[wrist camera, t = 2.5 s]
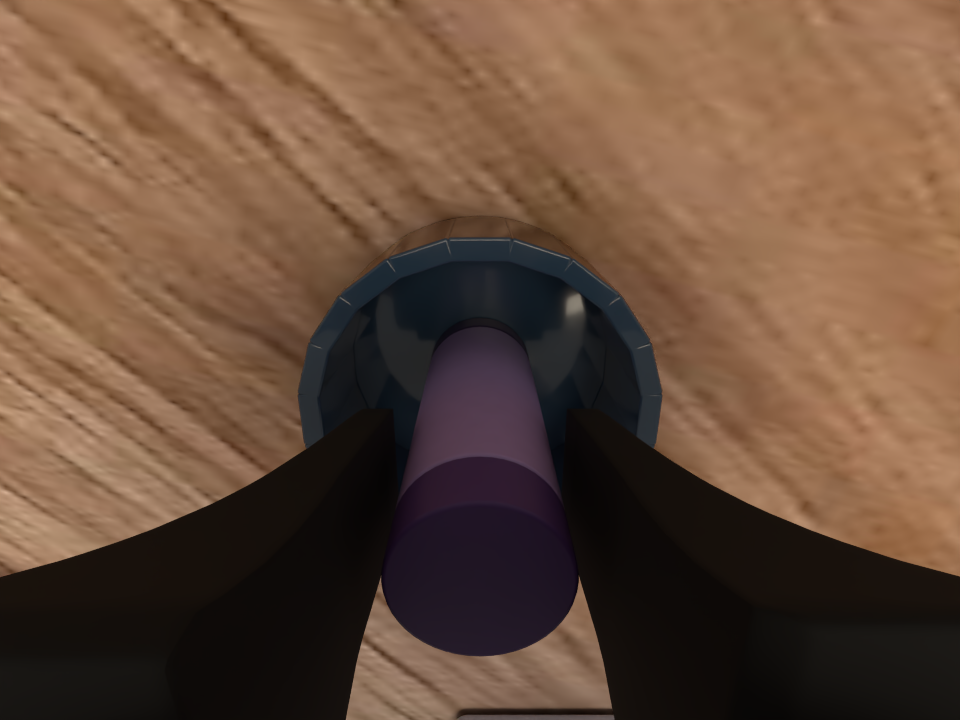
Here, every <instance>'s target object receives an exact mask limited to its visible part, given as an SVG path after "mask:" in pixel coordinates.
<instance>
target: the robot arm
mask: <svg viewBox="0 0 960 720" xmlns="http://www.w3.org/2000/svg"><path fill="white" fill-rule="evenodd" d="M561 495H562V500H563V505H564V509H565V513H566V517H567V522H568V526H569V530H570V534H571V538H572V543H573V547H574V551H575V555H576V559H577V564H578V570H579V577H580V581H581V584H582V587H583V591H584V594H585V597H586V601H587V604H588V607H589V611H590V614H591V618H592V621H593V624H594V628H595V631H596V634H597V638H598V642H599V646H600V650H601V654H602V658H603V662H604V667H605V672H606V677H607V683H608V688H609V693H610V699H611V704H612V709H613V714H614V715H463V716H461V717H459V718H458V719H457V720H960V577H959V576H956V575H952V574H948V573H944V572H941V571H937V570H933V569H929V568H926V567H922V566H918V565H914V564H911V563H907V562H903V561H900V560H897V559H893V558H890V557H887V556H884V555H881V554H878V553H875V552H872V551H869V550H866V549H863V548H859V547H856V546H853V545H850V544H847V543H844V542H841V541H839V540H836V539H833V538H830V537H828V536H825V535H822V534H819V533H817V532H814V531H811V530H809V529H806V528H804V527H801V526H799V525H797V524H794V523H792V522H789V521H787V520H784V519H782V518H780V517H777V516H775V515H772V514H770V513H768V512H765V511H763V510H761V509H759V508H757V507H754V506H752V505H750V504H748V503H746V502H744V501H742V500H740V499H738V498H736V497H734V496H732V495H730V494H728V493H726V492H724V491H722V490H720V489H718V488H716V487H715V486H713V485H711V484H709V483H707V482H706V481H704V480H702V479H700V478H699V477H697V476H695V475H694V474H692V473H690V472H689V471H687V470H686V469H684V468H682V467H681V466H679V465H677V464H676V463H674V462H673V461H671V460H670V459H668V458H667V457H665V456H664V455H662V454H661V453H659V452H658V451H656V450H655V449H653V448H652V447H650V446H649V445H648V444H646V443H645V442H643V441H642V440H641V439H639V438H638V437H637V436H635V435H634V434H632V433H631V432H630V431H628V430H627V429H626V428H624V427H623V426H622V425H620V424H619V423H618V422H616V421H615V420H614V419H612V418H611V417H609V416H608V415H607V414H605V413H604V412H602V411H600V410H599V409H567V416H566V431H565V446H564V462H563V477H562V492H561ZM398 496H399V492H398V476H397V461H396V446H395V430H394V415H393V409H362V410H360V411H358V412H357V413H355V414H354V415H352V416H351V417H350V418H348V419H347V420H345V421H344V422H343V423H341V424H340V425H339V426H337V427H336V428H335V429H333V430H332V431H331V432H329V433H328V434H327V435H325V436H324V437H322V438H321V439H320V440H318V441H317V442H316V443H314V444H313V445H311V446H310V447H309V448H307V449H306V450H304V451H303V452H301V453H300V454H298V455H297V456H295V457H293V458H292V459H290V460H289V461H287V462H286V463H284V464H283V465H281V466H280V467H278V468H276V469H275V470H273V471H272V472H270V473H269V474H267V475H265V476H264V477H262V478H260V479H259V480H257V481H255V482H253V483H251V484H250V485H248V486H246V487H244V488H242V489H240V490H238V491H236V492H234V493H233V494H231V495H229V496H227V497H225V498H223V499H221V500H219V501H217V502H215V503H213V504H211V505H208V506H206V507H204V508H201V509H199V510H197V511H194V512H192V513H190V514H187V515H185V516H183V517H180V518H178V519H176V520H173V521H171V522H169V523H166V524H164V525H162V526H160V527H157V528H155V529H152V530H149V531H147V532H144V533H141V534H139V535H136V536H133V537H130V538H128V539H125V540H122V541H119V542H117V543H114V544H111V545H108V546H105V547H102V548H99V549H96V550H93V551H90V552H87V553H84V554H80V555H77V556H74V557H71V558H67V559H64V560H61V561H58V562H54V563H50V564H47V565H43V566H39V567H36V568H32V569H28V570H25V571H21V572H18V573H14V574H10V575H7V576H3V577H0V720H346V715H347V709H348V704H349V699H350V694H351V688H352V683H353V678H354V673H355V667H356V662H357V658H358V654H359V650H360V646H361V642H362V638H363V635H364V631H365V628H366V625H367V621H368V618H369V614H370V611H371V608H372V604H373V601H374V598H375V594H376V591H377V587H378V584H379V581H380V577H381V570H382V564H383V559H384V555H385V551H386V547H387V543H388V538H389V534H390V530H391V526H392V521H393V517H394V513H395V509H396V505H397V500H398Z"/></svg>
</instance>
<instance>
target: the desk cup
mask: <svg viewBox="0 0 960 720" xmlns="http://www.w3.org/2000/svg"><path fill="white" fill-rule="evenodd" d="M473 318H487V319H493V320H496V321H499V322H501V323H503V324H505V325H507V326H508V327H510V328H511V329H512V330H514V331H515V332H516V333H517V334H518V336H519V337H520V338H521V340H522V341H523V343H524V345H525V347H526V350H527V353H528V357H529V362H530V366H531V370H532V374H533V378H534V383H535V387H536V391H537V395H538V399H539V404H540V408H541V412H542V416H543V421H544V425H545V429H546V433H547V437H548V442H549V446H550V450H551V454H552V458H553V463H554V467H555V471H556V475H557V479H558V484H559V488H560V492H562V477H563V462H564V446H565V431H566V416H567V409H599V410H600V411H602V412H604V413H605V414H607V415H608V416H609V417H611V418H612V419H614V420H615V421H616V422H618V423H619V424H620V425H622V426H623V427H624V428H626V429H627V430H628V431H630V432H631V433H632V434H634V435H635V436H637V437H638V438H639V439H641V440H642V441H643V442H645V443H646V444H648V445H649V446H650V447H652V448H653V449H654V447H655V444H656V439H657V432H658V425H659V417H660V410H661V403H662V388H661V383H660V379H659V374H658V370H657V365H656V361H655V356H654V352H653V347H652V343H651V342H650V339H649V337H648V335H647V334H646V332H645V331H644V329H643V328H642V326H641V325H640V323H639V321H638V320H637V318H636V317H635V315H634V314H633V312H632V311H631V309H630V308H629V306H628V304H627V303H626V301H625V300H624V298H623V297H622V295H621V294H620V293H619V292H618V291H617V290H616V289H615V288H614V287H613V286H612V285H611V284H610V283H609V282H608V281H607V280H606V279H605V278H604V277H603V276H602V275H601V274H600V273H599V272H598V271H597V270H596V269H595V268H594V267H593V266H592V265H591V264H590V263H589V262H588V261H587V260H585V259H584V258H583V257H581V256H580V255H579V254H578V253H576V252H575V251H574V250H573V249H572V248H571V247H569V246H568V245H566V244H565V243H564V242H562V241H561V240H559V239H558V238H557V237H555V236H554V235H551V234H550V233H548V232H545V231H543V230H541V229H539V228H537V227H534V226H532V225H529V224H526V223H523V222H520V221H516V220H511V219H506V218H501V217H489V216H471V217H459V218H454V219H449V220H444V221H440V222H437V223H434V224H431V225H428V226H426V227H423V228H421V229H419V230H417V231H415V232H412V233H410V234H409V235H406V236H405V237H403V238H402V239H401V240H399V241H398V242H396V243H395V244H394V245H392V246H391V247H389V248H388V249H387V250H386V251H385V252H384V253H382V254H381V255H380V256H379V257H377V258H376V259H375V260H373V261H372V262H371V263H370V264H369V265H368V266H367V267H366V268H365V269H364V270H363V271H362V272H361V273H360V274H359V275H358V276H357V277H356V278H355V279H354V280H353V281H352V282H351V283H350V284H349V285H348V286H347V287H346V288H345V289H344V290H343V291H342V292H341V293H340V294H339V295H338V297H337V298H336V300H335V301H334V303H333V304H332V306H331V308H330V309H329V311H328V312H327V314H326V315H325V317H324V318H323V320H322V321H321V323H320V325H319V326H318V328H317V329H316V331H315V332H314V334H313V335H312V337H311V339H310V342H309V343H308V347H307V352H306V356H305V361H304V365H303V370H302V374H301V379H300V383H299V388H298V393H299V394H298V402H299V409H300V416H301V424H302V431H303V439H304V443H305V447H306V449H307V448H309V447H310V446H311V445H313V444H314V443H316V442H317V441H318V440H320V439H321V438H322V437H324V436H325V435H327V434H328V433H329V432H331V431H332V430H333V429H335V428H336V427H337V426H339V425H340V424H341V423H343V422H344V421H345V420H347V419H348V418H350V417H351V416H352V415H354V414H355V413H357V412H358V411H360V410H362V409H393V415H394V430H395V446H396V461H397V476H398V492H400V488H401V484H402V479H403V475H404V471H405V467H406V463H407V458H408V454H409V450H410V446H411V442H412V437H413V433H414V429H415V425H416V420H417V416H418V412H419V408H420V404H421V399H422V395H423V391H424V387H425V383H426V378H427V374H428V370H429V366H430V362H431V357H432V353H433V350H434V347H435V345H436V343H437V341H438V340H439V338H440V337H441V336H442V334H443V333H444V332H445V331H446V330H448V329H449V328H450V327H452V326H453V325H455V324H457V323H459V322H461V321H464V320H467V319H473ZM561 496H562V495H561Z"/></svg>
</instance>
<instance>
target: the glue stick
mask: <svg viewBox="0 0 960 720" xmlns="http://www.w3.org/2000/svg"><path fill="white" fill-rule="evenodd" d="M381 583H382V589H383V593H384V596H385V599H386V602H387V605H388V607H389V609H390V610H391V612H392V614H393V615H394V617H395V618H396V620H397V621H398V622H399V623H400V624H401V625H402V626H403V627H404V628H405V629H406V630H407V631H408V632H409V633H411V634H412V635H413V636H414V637H416V638H418V639H419V640H421V641H422V642H424V643H426V644H428V645H430V646H432V647H435V648H437V649H440V650H443V651H446V652H450V653H454V654H460V655H466V656H494V655H500V654H506V653H510V652H514V651H517V650H520V649H523V648H525V647H528V646H530V645H532V644H534V643H536V642H538V641H539V640H541V639H542V638H544V637H546V636H547V635H548V634H549V633H551V632H552V631H553V630H554V629H555V628H556V627H557V626H558V625H559V624H560V623H561V622H562V621H563V619H564V618H565V617H566V615H567V614H568V612H569V610H570V609H571V607H572V605H573V602H574V599H575V596H576V593H577V589H578V583H579V570H578V564H577V559H576V555H575V551H574V547H573V543H572V538H571V534H570V530H569V526H568V522H567V517H566V513H565V509H564V505H563V500H562V496H561V492H560V488H559V484H558V479H557V475H556V471H555V467H554V463H553V458H552V454H551V450H550V446H549V442H548V437H547V433H546V429H545V425H544V421H543V416H542V412H541V408H540V404H539V399H538V395H537V391H536V387H535V383H534V378H533V374H532V370H531V366H530V362H529V357H528V353H527V350H526V347H525V345H524V343H523V341H522V340H521V338H520V337H519V336H518V334H517V333H516V332H515V331H514V330H512V329H511V328H510V327H508V326H507V325H505V324H503V323H501V322H499V321H496V320H493V319H487V318H473V319H467V320H464V321H461V322H459V323H457V324H455V325H453V326H452V327H450V328H449V329H448V330H446V331H445V332H444V333H443V334H442V336H441V337H440V338H439V340H438V341H437V343H436V345H435V347H434V350H433V353H432V357H431V362H430V366H429V370H428V374H427V378H426V383H425V387H424V391H423V395H422V399H421V404H420V408H419V412H418V416H417V420H416V425H415V429H414V433H413V437H412V442H411V446H410V450H409V454H408V458H407V463H406V467H405V471H404V475H403V479H402V484H401V488H400V492H399V496H398V500H397V505H396V509H395V513H394V517H393V521H392V526H391V530H390V534H389V538H388V543H387V547H386V551H385V555H384V559H383V564H382V570H381Z"/></svg>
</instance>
